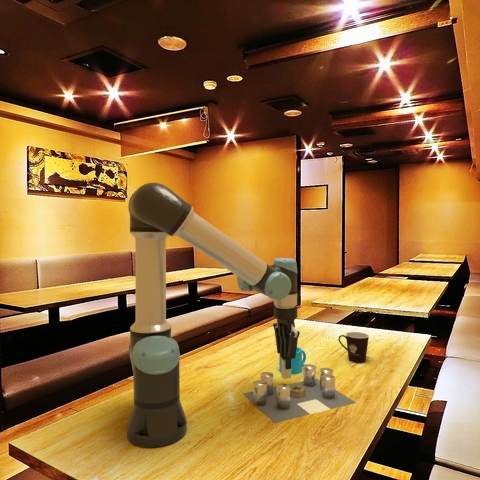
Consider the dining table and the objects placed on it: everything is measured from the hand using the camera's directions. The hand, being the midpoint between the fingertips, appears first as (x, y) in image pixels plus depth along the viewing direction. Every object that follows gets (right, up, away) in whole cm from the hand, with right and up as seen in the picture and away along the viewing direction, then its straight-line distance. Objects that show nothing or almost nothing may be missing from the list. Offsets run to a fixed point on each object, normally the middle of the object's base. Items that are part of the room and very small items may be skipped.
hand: (286, 377), depth 128 cm
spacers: (+2, -3, -7) cm, 8 cm away
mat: (+3, -4, -9) cm, 10 cm away
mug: (+5, -3, +16) cm, 16 cm away
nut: (+3, -3, -6) cm, 8 cm away
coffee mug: (+30, -2, +27) cm, 41 cm away
